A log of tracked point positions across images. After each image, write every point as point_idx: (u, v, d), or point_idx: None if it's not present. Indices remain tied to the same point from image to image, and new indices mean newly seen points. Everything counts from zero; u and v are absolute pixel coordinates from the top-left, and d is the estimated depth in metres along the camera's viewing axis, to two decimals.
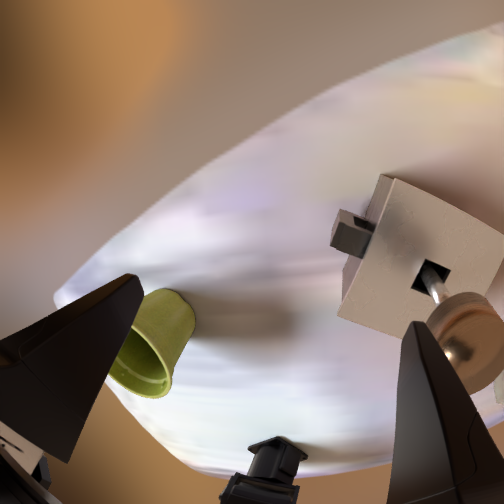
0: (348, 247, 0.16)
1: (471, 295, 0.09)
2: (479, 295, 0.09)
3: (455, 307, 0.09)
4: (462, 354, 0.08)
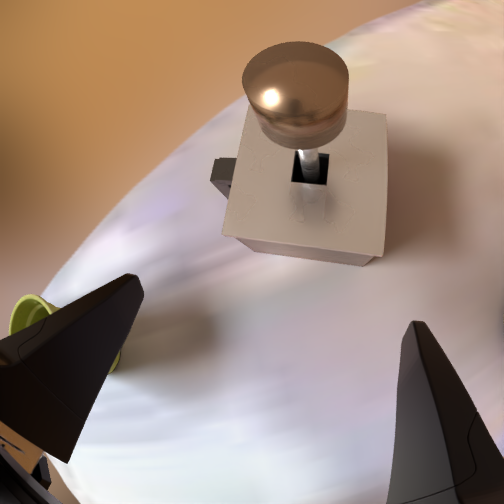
0: (225, 174, 0.18)
1: None
2: None
3: None
4: (268, 68, 0.09)
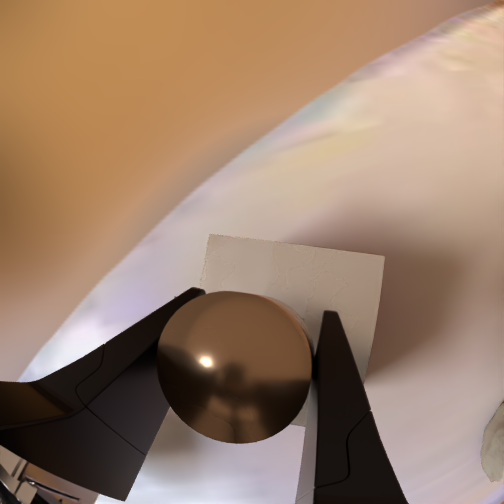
0: None
1: None
2: None
3: None
4: (190, 354, 0.06)
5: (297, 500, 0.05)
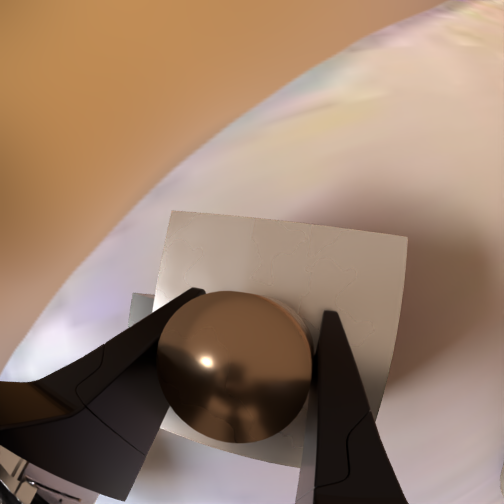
0: None
1: None
2: None
3: None
4: (190, 354, 0.06)
5: (297, 500, 0.05)
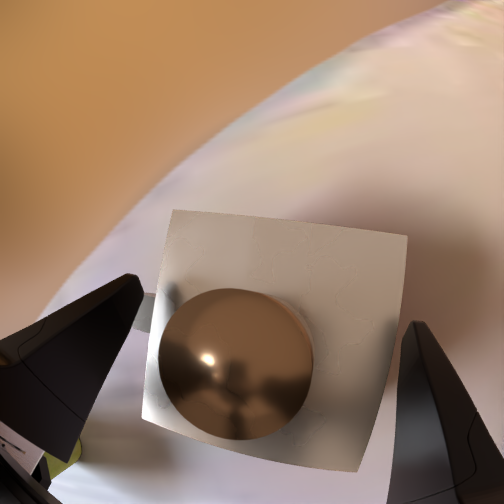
0: (145, 323, 0.12)
1: None
2: None
3: None
4: (191, 351, 0.06)
5: None
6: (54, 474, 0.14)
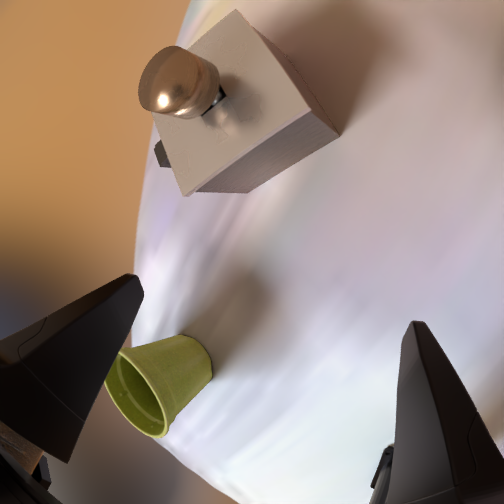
0: (165, 153, 0.18)
1: None
2: None
3: None
4: (148, 87, 0.12)
5: None
6: (188, 385, 0.23)
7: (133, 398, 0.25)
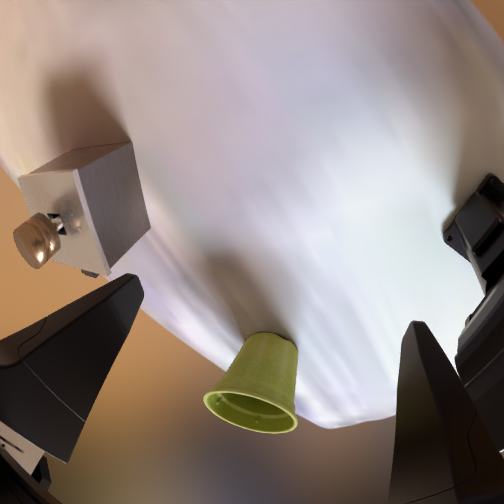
0: None
1: None
2: None
3: None
4: (29, 259, 0.17)
5: None
6: (272, 366, 0.26)
7: (267, 414, 0.28)
